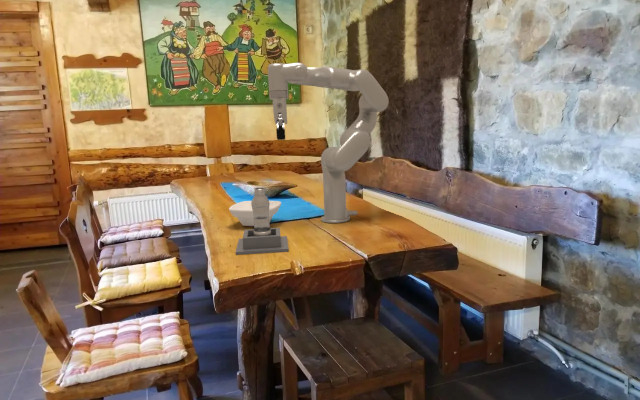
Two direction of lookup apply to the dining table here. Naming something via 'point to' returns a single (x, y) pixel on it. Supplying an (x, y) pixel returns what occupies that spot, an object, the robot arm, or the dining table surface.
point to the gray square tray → (262, 243)
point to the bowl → (251, 211)
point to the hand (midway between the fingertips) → (280, 139)
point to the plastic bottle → (261, 213)
